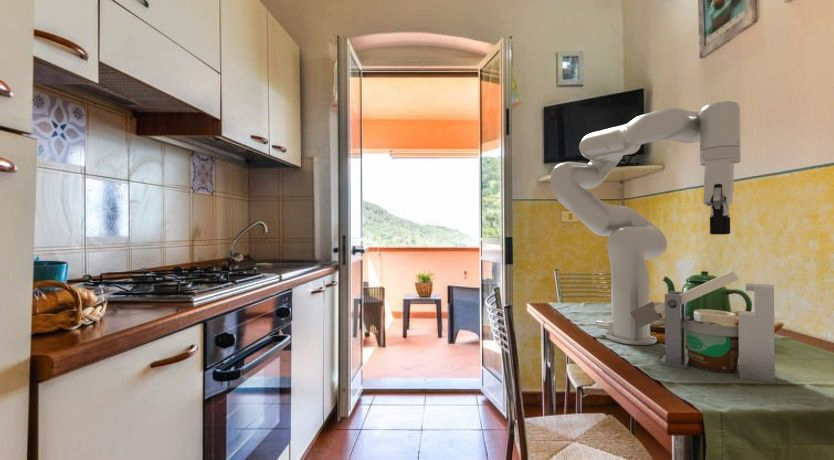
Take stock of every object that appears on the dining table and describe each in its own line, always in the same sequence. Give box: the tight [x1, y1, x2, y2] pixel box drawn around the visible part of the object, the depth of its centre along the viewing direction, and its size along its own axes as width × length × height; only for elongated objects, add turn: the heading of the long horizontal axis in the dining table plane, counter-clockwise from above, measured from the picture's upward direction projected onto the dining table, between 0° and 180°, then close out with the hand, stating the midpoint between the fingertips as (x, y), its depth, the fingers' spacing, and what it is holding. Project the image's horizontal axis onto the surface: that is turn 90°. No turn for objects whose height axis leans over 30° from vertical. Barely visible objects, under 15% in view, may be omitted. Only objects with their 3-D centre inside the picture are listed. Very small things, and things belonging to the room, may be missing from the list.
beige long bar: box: [630, 270, 739, 327], centre depth 93 cm, size 22×4×4 cm
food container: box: [681, 315, 739, 373], centre depth 90 cm, size 12×6×10 cm, turn 21°
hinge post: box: [659, 290, 690, 370], centre depth 94 cm, size 5×8×16 cm, turn 139°
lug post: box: [737, 283, 776, 384], centre depth 84 cm, size 6×5×19 cm
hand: (720, 233), depth 94 cm, fingers open, 6 cm apart
